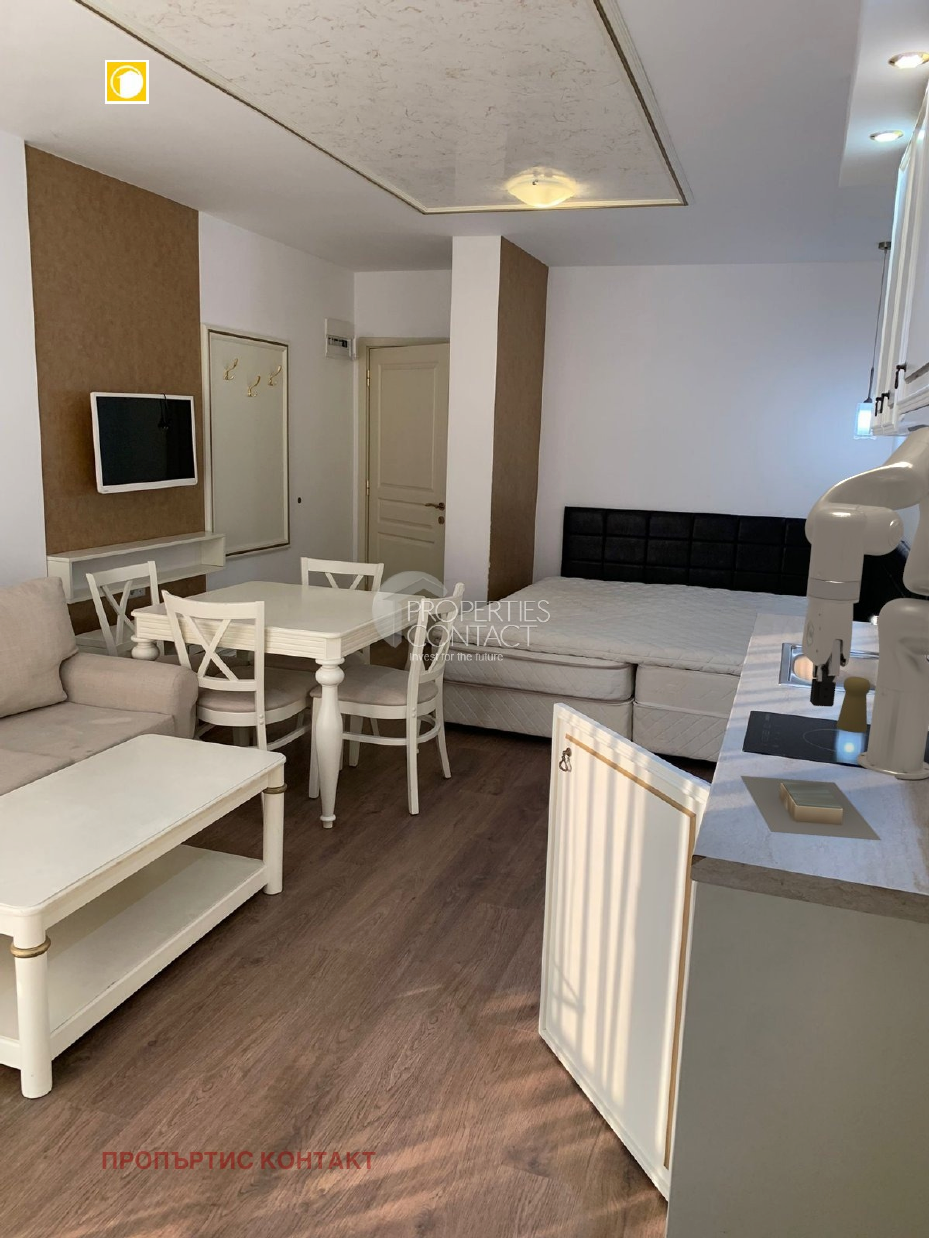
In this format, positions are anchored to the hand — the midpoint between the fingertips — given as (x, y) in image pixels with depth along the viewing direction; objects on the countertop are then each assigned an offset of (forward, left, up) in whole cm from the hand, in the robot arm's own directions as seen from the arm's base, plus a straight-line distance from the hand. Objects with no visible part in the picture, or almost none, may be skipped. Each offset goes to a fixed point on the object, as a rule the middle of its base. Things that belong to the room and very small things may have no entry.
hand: (821, 704), depth 147 cm
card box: (-3, 0, -16) cm, 16 cm away
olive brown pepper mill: (-50, +22, -18) cm, 57 cm away
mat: (-1, 0, -18) cm, 18 cm away
